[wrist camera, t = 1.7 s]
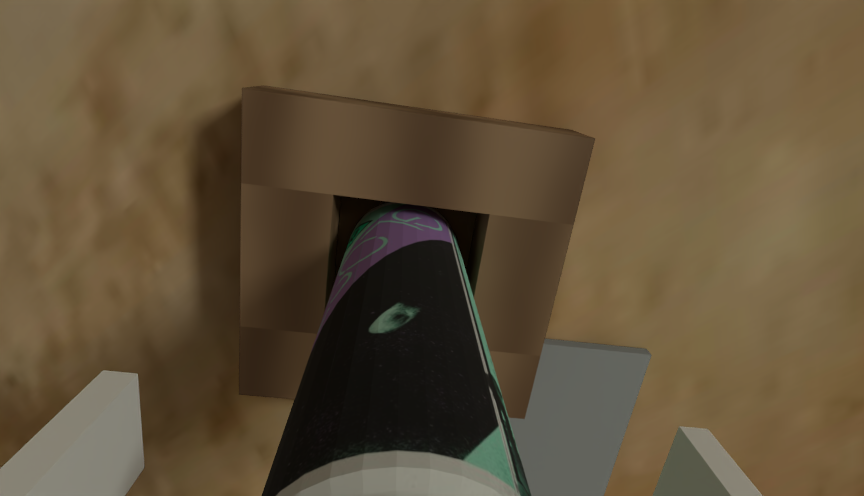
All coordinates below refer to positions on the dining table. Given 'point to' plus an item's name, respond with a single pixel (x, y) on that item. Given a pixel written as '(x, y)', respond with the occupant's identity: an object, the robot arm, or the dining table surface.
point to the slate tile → (577, 416)
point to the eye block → (409, 184)
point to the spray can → (399, 376)
